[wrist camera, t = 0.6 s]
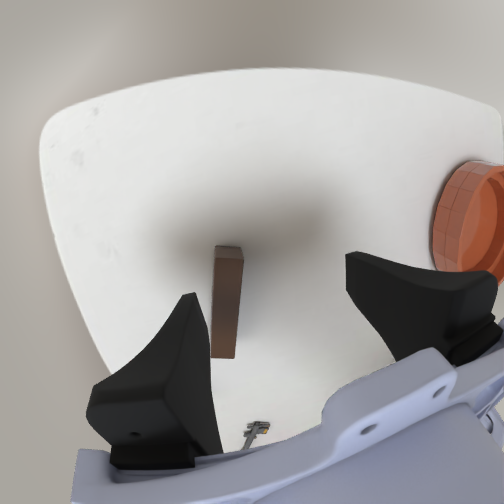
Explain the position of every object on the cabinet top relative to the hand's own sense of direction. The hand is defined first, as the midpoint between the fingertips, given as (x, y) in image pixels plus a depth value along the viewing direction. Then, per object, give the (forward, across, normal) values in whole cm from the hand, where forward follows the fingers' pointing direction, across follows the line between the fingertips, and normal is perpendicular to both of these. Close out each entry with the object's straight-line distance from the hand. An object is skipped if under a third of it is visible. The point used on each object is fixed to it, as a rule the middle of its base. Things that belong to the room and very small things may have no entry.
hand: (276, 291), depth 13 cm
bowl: (+8, -25, +4) cm, 26 cm away
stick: (+9, +3, +5) cm, 11 cm away
